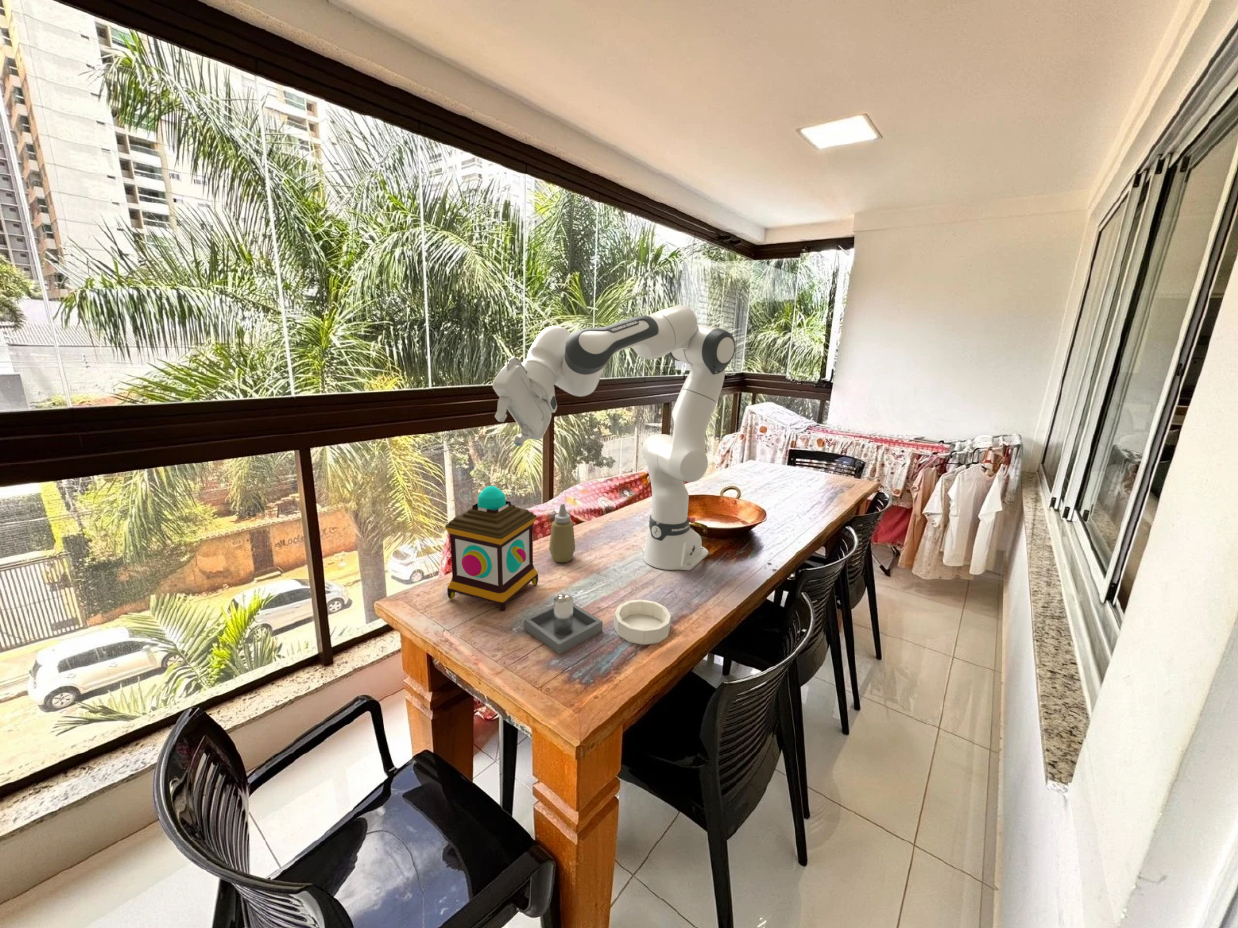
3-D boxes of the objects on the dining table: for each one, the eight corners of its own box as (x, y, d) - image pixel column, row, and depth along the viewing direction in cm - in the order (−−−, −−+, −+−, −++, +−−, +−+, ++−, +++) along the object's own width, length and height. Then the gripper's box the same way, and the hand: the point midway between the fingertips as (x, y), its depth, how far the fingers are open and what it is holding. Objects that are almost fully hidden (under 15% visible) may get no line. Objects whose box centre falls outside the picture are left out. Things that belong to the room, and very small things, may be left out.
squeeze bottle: (557, 567, 149) (557, 510, 144) (544, 556, 156) (544, 502, 151) (580, 560, 154) (581, 506, 149) (566, 550, 160) (567, 498, 155)
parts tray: (566, 611, 127) (566, 599, 126) (602, 634, 118) (602, 621, 117) (524, 632, 117) (523, 619, 117) (559, 658, 109) (559, 644, 108)
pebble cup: (564, 621, 120) (564, 588, 118) (576, 629, 118) (577, 596, 115) (549, 629, 117) (549, 595, 115) (561, 637, 114) (562, 603, 112)
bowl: (639, 609, 129) (640, 594, 127) (679, 631, 120) (681, 615, 119) (603, 629, 120) (604, 613, 118) (644, 655, 111) (645, 637, 110)
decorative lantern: (486, 568, 147) (482, 470, 139) (545, 582, 140) (545, 481, 132) (439, 601, 129) (432, 491, 121) (504, 619, 122) (501, 504, 114)
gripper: (527, 353, 105) (499, 404, 99) (559, 412, 122) (538, 459, 116) (502, 351, 107) (473, 401, 101) (537, 409, 124) (515, 455, 118)
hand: (508, 432), depth 108 cm, fingers open, 8 cm apart
